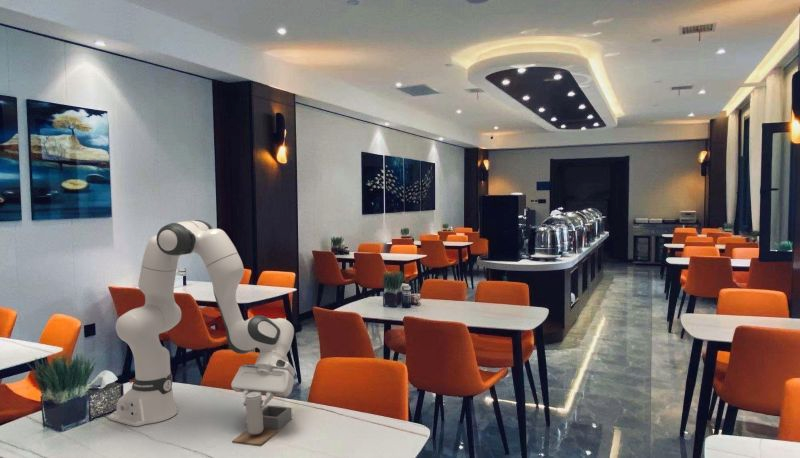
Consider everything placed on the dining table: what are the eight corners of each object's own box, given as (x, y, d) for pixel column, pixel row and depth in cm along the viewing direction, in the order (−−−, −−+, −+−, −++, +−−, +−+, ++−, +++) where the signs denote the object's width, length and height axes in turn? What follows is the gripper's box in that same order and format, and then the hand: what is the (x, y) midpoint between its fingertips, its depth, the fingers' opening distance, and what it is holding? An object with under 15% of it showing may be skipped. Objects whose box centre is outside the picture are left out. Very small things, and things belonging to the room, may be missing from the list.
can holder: (253, 427, 174) (253, 415, 173) (268, 416, 182) (267, 405, 182) (278, 430, 171) (277, 418, 171) (291, 419, 180) (291, 407, 179)
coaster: (232, 442, 163) (232, 440, 163) (250, 428, 173) (250, 427, 173) (260, 446, 160) (260, 444, 160) (278, 432, 170) (277, 430, 170)
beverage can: (259, 435, 164) (257, 397, 163) (244, 434, 165) (242, 397, 164) (266, 428, 169) (264, 391, 168) (251, 427, 169) (249, 391, 168)
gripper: (237, 358, 175) (220, 399, 167) (293, 363, 169) (278, 404, 161) (245, 368, 180) (229, 407, 171) (300, 372, 174) (286, 413, 165)
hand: (253, 406), depth 166 cm, fingers closed on beverage can, 4 cm apart
